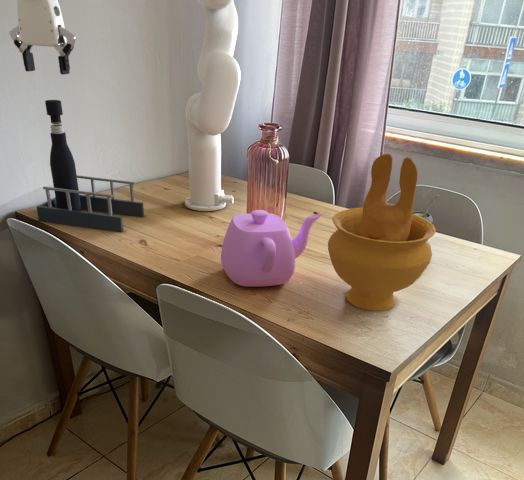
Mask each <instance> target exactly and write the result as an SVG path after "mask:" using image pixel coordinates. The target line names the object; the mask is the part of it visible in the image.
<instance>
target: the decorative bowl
mask: <svg viewBox="0 0 524 480" xmlns="http://www.w3.org/2000/svg"><path fill="white" fill-rule="evenodd" d="M392 169H393V156H392V154H391V153H383V154H381V155H379V156H378V157H376V158H375V160H373V162H372V165H371V169H370V170H371V171H370V177H371V184H370V187H369V189H368V192H367V194H366V196H365V198H364V201H363V205H362V207H353V208H347V209H344V210H341V211H338V212H336V213H335V214H334V215H333V216H332V223H333V226H335V227H336V229H335V231H334V232H333V233H332V234H331V235H330V237H329V238H328V241H327V250H328V251H327V252H328V255H329V258H330V262H331V264H332V266H333V269H334V271H335V273H336V275H337V276H338V277H339V278H340V279H341V280H342V281H343V282H344V283H346V284H347V285H349V286H351V288H350V289H349V291H348V292H347V293H346V295H345V297H346V300H347V302H349V303H350V304H351V305H353V306H355V307H357V308H358V309H362V310H368V311H375V312H377V311H387V310H389V309H392V308H393V307H395V305H396V299H395V296H394V293H396V292H397V293H398V292H399V291H402V290H405V289H406V288H409V287H410V286H412V285H413V284H414V283H415V282H416V281H418V279H420V278H421V276H422V274H423V273H424V272H425V270H426V269H427V268H428V266H429V265H430V262H431V260H432V256H433V254H432V253H433V252H432V247H431V245H430V243H429V241H427V240H429V239H431V238H432V237H434V236H435V234H436V231H437V229H436V227H435V225H434V223H433V224H431V223H430V222H429V221H427V220H426V219H424V218H422V217H419V216H417V215H414V214H412V212H414V206H415V194H416V189H417V183H418V175H419V174H418V168H417V165H416V163H415V162H414V160H413V158H412V157H409V156H406V157H405V158H403V160H402V162H401V167H400V172H399V181H398V182H399V183H398V184H399V188H400V189H399V190H400V196H399V199H398V201H397V202H396V203H394V204H393V203H389V202H388V200H387V192H388V188H389V185H390V181H391V175H392Z"/></svg>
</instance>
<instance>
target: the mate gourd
mask: <svg viewBox="0 0 524 480" xmlns="http://www.w3.org/2000/svg"><path fill="white" fill-rule="evenodd" d="M443 195H444V194H443V193H439V194H438V195H436V196H434V197H433V198H432V199H430V201H429V203H428V205H427V207H426V208H425V211H420V210H419V211H417V210H416V211H413V212H412V214H414V215H417V216H419V217H422V218H424V219H426V220H427V221H429V222H430V223H431V224H433V225H434V222H433V221H434V219H433V217H432V215H431V214H430V213H429V210H430V208H431V206H432V205H433V204H434V202H435V200H437V199H438V198H440V197H441V196H443ZM428 240H429V239H428ZM428 240H427V241H428ZM428 242H429V241H428Z"/></svg>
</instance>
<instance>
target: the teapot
mask: <svg viewBox="0 0 524 480" xmlns="http://www.w3.org/2000/svg"><path fill="white" fill-rule="evenodd" d="M322 216H323V213H316V214H311V215H309V216H307V217H306V218H305V219H304V220H303V222H302V224H301V227H300V229H299V232H298V233H297V235H296V237H294V238H293V239H292V236H291V233H290V229H289V228H288V225H287V223H286V221H284V219H283V218H281V216H279V215H277V214H275V213H271V212H270V213H269V212H268V211H266V210H265V209H264V210H263V209H255V210H252V211H251V212H250V213H239V214H235V215H234V216H232V219H231V220H230V222H229V224H228V227H227V230H226V231H225V235H224V237H223V241H222V245H221V252H220V263H221V266H222V268H223V270H224V272H225V274H226V275H227V277H228V278H229V279H230V280H231V281H232V282H233V283H234V284H236V285H238V286H241V287H251V288H253V287H270V286H279V285H285V284H286V283H289V281H290V279H291V278H292V277H293V276H294V273H295V270H296V259H298V258H299V257H300V256H301V255H302V254H303V253H304V252H305V250H306V248H307V245H308V242H309V238H310V237H309V236H310V233H311V229H312V227H313V224H314V223H315V222H316V221H317V220H318V219H320V218H321V217H322Z"/></svg>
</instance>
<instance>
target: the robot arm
mask: <svg viewBox="0 0 524 480" xmlns="http://www.w3.org/2000/svg"><path fill="white" fill-rule="evenodd" d="M196 1H197V3H198V4H199V5H200V6H201V9H203V12H204V16H205V17H204V18H205V29H204V35H203V40H202V44H201V45H202V47H201V51H200V55H199V58H198V62H197V68H196V74H197V78H198V80H199V82H200V83H201V84H202V89H201V91H199V92H196V93H193V94H192V95H191V96H190V97H189V98H188V100H187V102H186V105H185V111H184V114H185V115H184V116H185V124H186V132H187V133H186V134H187V142H188V143H187V148H188V150H187V151H188V153H187V154H188V155H187V156H188V181H189V182H188V185H189V186H188V187H189V197H187V198H186V199H185V200H184V206H185V207H186V208H187V209H190V210H192V211H193V210H194V211H198V212H215V211H219V210H222V209H224V208H225V207H226V206H227V204H231V205H233V204H234V203H235V197H233V195H232V194H231V195H230V194H226V193H225V191H224V189H222V138H221V134H223V133H224V132H225V131H226V130H227V129H228V127H229V125H230V124H231V123H230V122H231V119H232V117H233V114H234V109H235V105H236V102H237V96H238V93H239V88H240V83H241V69H240V65H239V63H238V61H237V60H236V58H235V57H234V53H235V48H236V42H237V38H238V33H239V32H238V31H239V17H238V16H239V15H238V12H237V8H236V5H235V4H236V3H235V2H234V1H235V0H196ZM16 9H17V12H16V13H17V23H18V25H17V26H16V27H14V28H12V29H11V30H9V32H8V34H9V36H10V38H11V40H12V41H13V45H14V46H15V47H16V48H17V49H18V52H19V53H21V55H22V61H23V66H24V70H25V72H28V73H29V72H33V71H34V72H35V71H36V64H35V59H34V58H35V57H34V54H33V52H31V51H32V48H33V47H34V46H36V47H37V46H39V47H51V48H53V47H54V49H55V50H56V51H57V53H58V54H59V55H58V57H57V59H58V67H59V73H60V75H62V76H65V75H69V74H70V70H71V66H70V57H69V56H71V53H72V52H73V50H74V48H75V43H76V40H77V36H76V35H75V34H74V33H72V32H70V31H69V30H68V29H66V27H65V22H64V18H63V17H64V16H63V13H62V9H61V6H60V3H59V0H17V2H16Z"/></svg>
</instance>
